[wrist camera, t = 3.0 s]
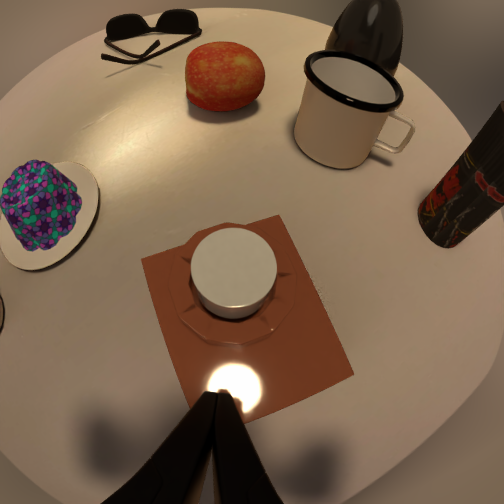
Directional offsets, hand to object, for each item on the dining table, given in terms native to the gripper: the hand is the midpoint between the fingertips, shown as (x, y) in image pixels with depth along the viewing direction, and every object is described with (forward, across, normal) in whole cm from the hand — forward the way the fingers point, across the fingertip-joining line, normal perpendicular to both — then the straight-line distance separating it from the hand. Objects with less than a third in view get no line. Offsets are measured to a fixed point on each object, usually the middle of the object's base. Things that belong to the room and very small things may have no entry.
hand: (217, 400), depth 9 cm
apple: (+30, +4, -12) cm, 32 cm away
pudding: (+18, +19, 0) cm, 26 cm away
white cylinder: (+10, 0, 0) cm, 10 cm away
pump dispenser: (+38, -13, -19) cm, 44 cm away
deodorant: (+21, -20, -3) cm, 29 cm away
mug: (+27, -10, -8) cm, 30 cm away
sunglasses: (+39, +18, -21) cm, 48 cm away
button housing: (+12, -1, +6) cm, 13 cm away
